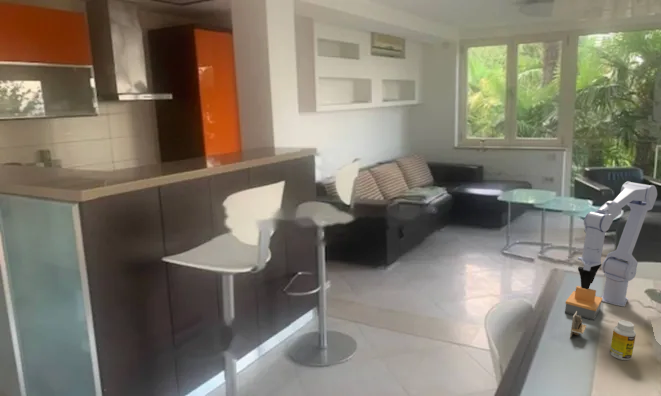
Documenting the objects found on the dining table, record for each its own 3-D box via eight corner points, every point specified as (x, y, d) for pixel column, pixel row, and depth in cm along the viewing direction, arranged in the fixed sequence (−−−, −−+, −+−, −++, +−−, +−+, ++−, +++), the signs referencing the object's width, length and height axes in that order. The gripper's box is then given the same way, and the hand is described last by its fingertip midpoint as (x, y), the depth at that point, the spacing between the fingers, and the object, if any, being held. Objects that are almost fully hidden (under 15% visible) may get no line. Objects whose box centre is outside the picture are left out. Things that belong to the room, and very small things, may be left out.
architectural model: (585, 336, 157) (588, 314, 155) (581, 344, 151) (584, 321, 149) (573, 332, 158) (576, 311, 157) (568, 340, 153) (572, 318, 151)
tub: (572, 302, 181) (573, 293, 181) (600, 309, 176) (601, 300, 175) (564, 312, 172) (566, 303, 171) (593, 320, 167) (595, 310, 166)
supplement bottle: (625, 363, 140) (631, 329, 138) (605, 354, 145) (611, 321, 143) (635, 357, 143) (641, 324, 141) (615, 349, 148) (621, 317, 146)
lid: (573, 295, 181) (575, 280, 180) (601, 302, 176) (604, 287, 174) (565, 306, 171) (567, 290, 170) (595, 314, 166) (598, 297, 165)
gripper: (584, 240, 177) (578, 277, 180) (576, 249, 166) (569, 288, 168) (606, 245, 173) (600, 282, 176) (599, 254, 162) (593, 293, 164)
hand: (586, 285), depth 172 cm, fingers open, 7 cm apart
